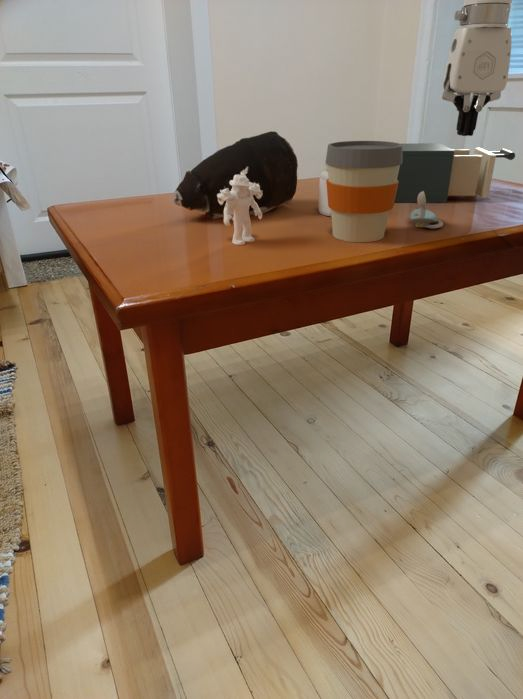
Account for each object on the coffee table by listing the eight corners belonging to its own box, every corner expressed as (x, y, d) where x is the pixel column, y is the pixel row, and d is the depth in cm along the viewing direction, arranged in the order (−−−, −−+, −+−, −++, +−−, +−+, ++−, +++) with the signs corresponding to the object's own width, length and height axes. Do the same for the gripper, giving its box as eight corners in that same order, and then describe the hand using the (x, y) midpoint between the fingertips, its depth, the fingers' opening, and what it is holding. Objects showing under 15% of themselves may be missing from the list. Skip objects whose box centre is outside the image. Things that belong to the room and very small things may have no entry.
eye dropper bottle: (318, 217, 102) (320, 153, 97) (318, 210, 107) (320, 150, 102) (339, 217, 102) (343, 153, 96) (339, 210, 107) (342, 150, 101)
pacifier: (440, 222, 98) (408, 220, 99) (447, 188, 95) (413, 187, 96) (444, 232, 91) (410, 230, 92) (451, 196, 88) (415, 194, 89)
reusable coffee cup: (308, 232, 92) (311, 144, 85) (363, 222, 98) (369, 139, 91) (352, 249, 83) (358, 151, 76) (409, 238, 88) (421, 145, 81)
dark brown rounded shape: (150, 156, 99) (256, 122, 108) (167, 227, 109) (263, 191, 118) (184, 176, 89) (298, 137, 98) (200, 252, 99) (302, 211, 108)
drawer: (494, 187, 121) (502, 147, 117) (512, 198, 110) (521, 154, 106) (411, 187, 123) (415, 147, 119) (419, 197, 112) (425, 154, 108)
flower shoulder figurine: (253, 234, 92) (251, 164, 86) (269, 238, 89) (268, 166, 84) (215, 245, 86) (211, 171, 81) (230, 249, 84) (227, 173, 78)
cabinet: (434, 190, 124) (441, 143, 119) (446, 202, 112) (454, 150, 107) (368, 190, 125) (372, 143, 120) (373, 202, 113) (378, 151, 108)
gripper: (453, 16, 83) (435, 137, 91) (538, 17, 84) (513, 136, 93) (433, 21, 89) (418, 134, 98) (512, 21, 91) (491, 132, 99)
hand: (464, 135), depth 95 cm, fingers closed
